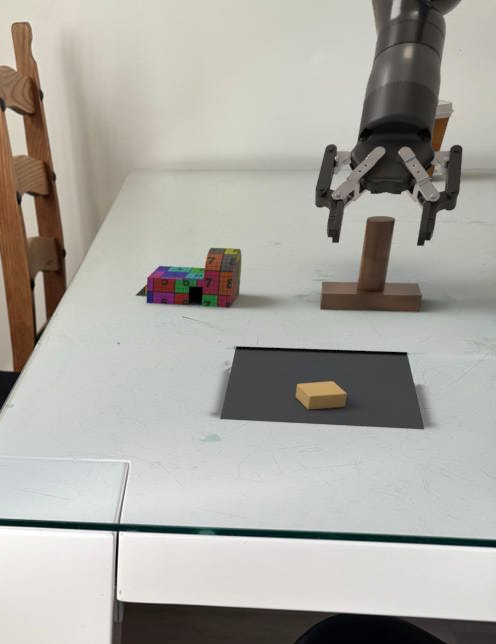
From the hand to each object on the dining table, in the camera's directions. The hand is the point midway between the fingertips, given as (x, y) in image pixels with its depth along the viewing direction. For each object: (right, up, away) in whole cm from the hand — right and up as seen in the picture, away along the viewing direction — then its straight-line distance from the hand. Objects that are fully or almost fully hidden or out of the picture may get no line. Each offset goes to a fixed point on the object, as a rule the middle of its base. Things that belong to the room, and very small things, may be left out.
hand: (378, 240), depth 104 cm
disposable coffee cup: (+32, +40, +73) cm, 89 cm away
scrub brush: (0, -7, +4) cm, 8 cm away
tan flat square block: (-12, -22, -19) cm, 31 cm away
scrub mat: (-11, -19, -14) cm, 26 cm away
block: (-19, -4, +10) cm, 22 cm away
